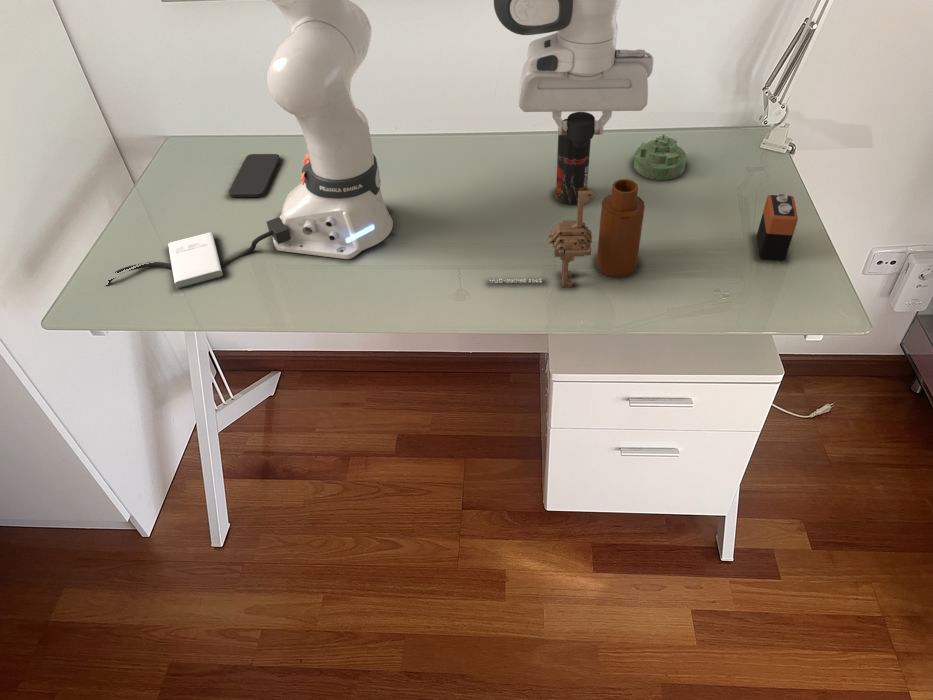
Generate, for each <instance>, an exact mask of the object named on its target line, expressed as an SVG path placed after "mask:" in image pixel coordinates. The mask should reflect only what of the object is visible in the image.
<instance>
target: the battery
mask: <svg viewBox="0 0 933 700" xmlns="http://www.w3.org/2000/svg"><path fill="white" fill-rule="evenodd" d="M798 220H799V215H798V211H797V206H796V201H795V197H794V196H793V195H788V194H786V193H783V192H781V193H778V194H768V195H767V196H766V200H765V204H764V207H763V211H762V215H761V218H760V221H759V226H758V229H757V232H756V243H757V250H758V251H757V252H758V257H759V259H760V260H769V261H785V260H786V259H787V255H788V252H789V249H790V246H791V242H792V239H793V237H794V233H795V231H796V227H797V223H798Z"/></svg>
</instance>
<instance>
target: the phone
mask: <svg viewBox="0 0 933 700" xmlns="http://www.w3.org/2000/svg"><path fill="white" fill-rule="evenodd" d="M280 160H281V158H280V154H277V153H251V154H248V155H246V156H245V158H244V160H243V162H242V165H241V166H240V168H239V170H238V172H237V175H236V176H235V178H234V180H233V181H232V184H231V186H230V187H229V190H228V194H229V197H230V198H262V197H263V196H264V195H265V194H266V192H267V189H268V187H269V185H270V183H271V180H272V178H273V177H274V174H275V172H276V169H277V167H278V165H279V163H280Z"/></svg>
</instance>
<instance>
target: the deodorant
mask: <svg viewBox="0 0 933 700" xmlns="http://www.w3.org/2000/svg"><path fill="white" fill-rule="evenodd" d="M567 119H568V117H567V118H564V119H562V121H567ZM591 140H592V139H590V140H588V141H587V142H586V143H585V146H584V147H582V148H577V147H575V146H574V145H573V141H572V140H570V139H569V138H568V137H567V135H558V134H557V157H556V179H555V180H556V184H555V198H556V200H557V201H558V202H560V203H561V204H564V205H569V206H570V205H578V191H586V190H588V183H589V181H588V180H589V167H590V156H591V154H590V153H591Z"/></svg>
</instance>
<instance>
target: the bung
mask: <svg viewBox="0 0 933 700" xmlns="http://www.w3.org/2000/svg"><path fill="white" fill-rule="evenodd" d="M567 118H568V119H567ZM567 118H566V119H567V125H568V130H567V137H568V138H569V139H570V140H572V141H573V145H574V146H575V147H577V148H582V147H584V146H585V143H586V142H587V141H588V140H590V139H591V140H592V139H593V138H594V135H593V134H594V124H595V120H596V118H595V116H594V115H593V114H592V113H590V112H588V111H574V112H571V113H570V114H568V116H567Z"/></svg>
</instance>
